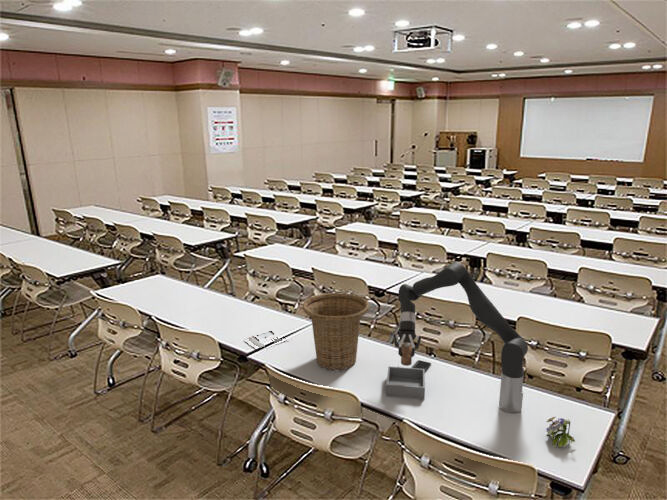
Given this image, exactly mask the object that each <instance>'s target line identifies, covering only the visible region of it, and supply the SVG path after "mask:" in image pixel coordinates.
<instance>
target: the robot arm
mask: <svg viewBox="0 0 667 500" xmlns="http://www.w3.org/2000/svg"><path fill="white" fill-rule="evenodd" d="M458 284H459V285H460V286H461V287H462V289H463V291H464V293H465V294H466V296H467V300H468V304H469V308H470V310H471V312H472V313H473V314H474V316H475V317H476V319H478V321H479V322H480V323H481V324H483V325H484V326H486V327H487V328H489V329H490V330H491V331H493V332H494V333H496V334H497V335H498V337H499V338H500V339H501V340H502V341H503V342H504V344H503V345H502V348H501V355H500V357H501V359H500V367H501V375H500V376H501V377H500V390H499V398H498V408H499V409H501V410H502V411H503V412H505V413H510V414H516V413H522V408H523V400H524V392H523V385H524V374H525V370H524V369H525V368H524V365H523V364H524V357H525V356H526V354H528V351H529V347H528V343H527V342H526V340H525V339H524V338H523V336H521V335H520V334H519V333H518V332H517V331H516V330H515V329H514V328H513V327H512V326H511V325H510V324H509V322H508V321H507V320H506V318H505V317H504V316H503V315H502V314H501V313H500V311H498V309H497V307H496V306H495V305H494V304H493V302H492V301H491V300H490V299H489V298H488V297H487V296H486V294H485V293H484V291H482V289H481V288H480V286H479V285H478V284H477V283H476V281H475V279H474V278H473V277H472V275H471V274H470V272H469V270H468V269H467V268H466V266H464V265H463V263H461V262H459V261H453V262H451V263H449V264H448V265H447V266H445V267H444V268H443V269H442V270H440V271H439V272H437V273H436V274H435V275H434V276H430V277H425V278H422V279H419V280H417V281H416V282H413V284H412V285H410V284H407V283H404V284H401V285H400V286H399V289H398V297H399V303H400V306H401V307H400V317H399V333H398V334H395V333H394V334H393V335H392V337H393V343H394V347H395V348H397V350H398V353H397V354H398V356H399V357H401V346H402V345H403V344H404V342H409V343H410V345H412V358H414V357H415V355H416V354H415V353H416V352H415V350H419V348H420V344H421V342H422V336H421V335H417V334H416V322H417V321H416V304H415V303H414V301H415V302H416V301H417V300H418V299H419V298H421V297H422V296H423V295H425V294H428V293H430V292H433V291H435V290H437V289H438V290H439V289H441V288H449V287H454V286H456V285H458ZM398 338H399V339H400V342H399V344H398ZM415 339H416V341H417V342H416V345H415V343H414V342H415V341H414V340H415Z"/></svg>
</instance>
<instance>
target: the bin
mask: <svg viewBox="0 0 667 500" xmlns="http://www.w3.org/2000/svg"><path fill="white" fill-rule="evenodd" d="M387 368H388V369H387V376H386V382H385V397H391V398H392V397H393V398H402V399H403V398H406V399H415V400H416V399H418V400H425V398H426V397H425V392H426V381H425V377H426V376H425V374H426V373H425V369H418V368H412V367H401V366H390V365H389V366H388V367H387Z"/></svg>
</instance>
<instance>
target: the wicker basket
mask: <svg viewBox="0 0 667 500" xmlns="http://www.w3.org/2000/svg"><path fill="white" fill-rule="evenodd" d="M369 305H370V304H369V302H368V301H367V300H366V299H365V298H363V297H361V296H358V295H357V294H356V295H355V294H351V293H344V292H341V293H340V292H332V293H330V292H329V293H323V294H318V295H314V296H311V297H309V298H307V299H306V300H304V302H303V304H302V311H303V312H304V314H305V315H306V316H308V317H310V318H311V325H312V332H313V333H312V334H313V340H314V341H313V342H314V348H315V349H314V350H315V356H316V357H315V358H316V363H317V364H318V366H319V367H322V369H328V370H329V371H332V370H334V371H339V370H340V369H341V370H342V371H343V370H346V369H351V367H352V366H354V365H355V363H356V362H357V361H356V360H357V354H358V344H359V336H360V327H361V325H360V323H361V317H362V316H364V315H366V314H367V313H368V311H369V308H370V306H369Z"/></svg>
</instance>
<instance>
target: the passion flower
mask: <svg viewBox="0 0 667 500" xmlns="http://www.w3.org/2000/svg"><path fill="white" fill-rule="evenodd" d="M554 419H556V416H552V417H550V418H549V419H547V420H546V423H550V422H551V423H550V424H549V426H548V427H546V428H545V429H546V430H545V431H546V432H547V433H546V434H545V437H550V436H551V439H552V446H553V447H554V448H556V446H557V448H558V449H559V448H562V447H565V446H567V444H568V443H569V445H570V444H572V443H575V442H576V440H575V438H574V437H573V436H572V435H570V427H571V420H570V419H568V420H567V419H564V418H563V417H562V418H558V419H557V420H554ZM567 429H568V431H567ZM560 432H561V433H560Z"/></svg>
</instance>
